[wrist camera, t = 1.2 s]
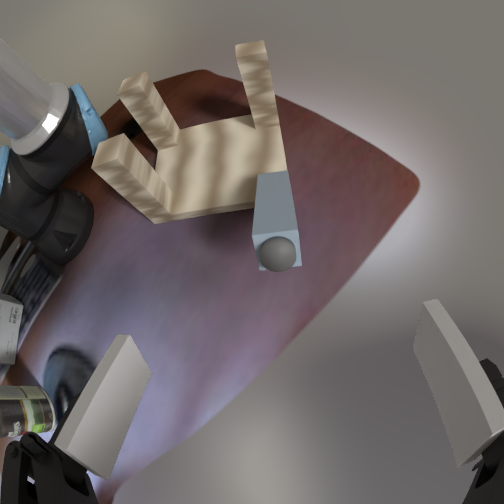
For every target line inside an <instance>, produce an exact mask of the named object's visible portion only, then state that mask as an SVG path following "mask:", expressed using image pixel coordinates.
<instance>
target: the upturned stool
mask: <svg viewBox="0 0 504 504" xmlns="http://www.w3.org/2000/svg"><path fill="white" fill-rule="evenodd" d="M236 59H237V62H238V66H239V70H240V73H241V76H242V80H243V84H244V87H245V91H246V94H247V98H248V102H249V105H250V109H251V113H252V114H251V115H245V116H240V117H234V118H229V119H224V120H219V121H215V122H210V123H206V124H201V125H197V126H193V127H189V128H185V129H181V130H180V129H179V127H178V126H177V124H176V122H175V121H174V119H173V117H172V115H171V114H170V112H169V110H168V109H167V107H166V105H165V104H164V102H163V100H162V98H161V97H160V95H159V93H158V92H157V90H156V88H155V86H154V85H153V83H152V81H151V80H150V78H149V76H148V75H147V73H146V71H144V72H141V73H139V74H136V75H134V76H131V77H129V78H127V79H124V80H123V82H122V84H121V87H120V89H119V91H118V94H117V95H118V96H119V98H120V99H121V101H122V102H123V103H124V105H125V106H126V108H127V109H128V110H129V112H130V113H131V114H132V116H133V117H134V119H135V120H136V121H137V123H138V124H139V125H140V127H141V128H142V129H143V131H144V132H145V134H146V135H147V136H148V138H149V139H150V140H151V142H152V143H153V144H154V146H155V147H156V148H157V150H158V155H157V161H156V167H155V170H154V169H153V168H152V167H151V166H150V164H149V163H148V162H147V161H146V159H145V158H144V157H143V156H142V155H141V153H140V152H139V151H138V150H137V149H136V147H135V146H134V145H133V144H132V143H131V141H130V140H129V139H128V138H127V136H126V135H125V134H124V133H123V134H120V135H118V136H115V137H113V138H110V139H107V140H105V141H102V142H100V143H99V144H98V147H97V150H96V154H95V157H94V160H93V164H92V167H91V168H92V169H93V170H94V171H95V172H96V173H97V174H98V175H99V176H100V177H102V178H103V179H104V180H105V181H106V182H107V183H108V184H109V185H110V186H112V187H113V188H114V189H115V190H116V191H117V192H118V193H120V194H121V195H122V196H123V197H124V198H125V199H126V200H128V201H129V202H130V203H131V204H132V205H133V206H134V207H136V208H137V209H138V210H139V211H140V212H141V213H143V214H144V215H145V216H146V217H147V218H148V219H150V220H151V221H152V222H153V223H154V224H158V223H164V222H170V221H175V220H181V219H187V218H193V217H199V216H205V215H211V214H218V213H224V212H231V211H237V210H244V209H251V208H255V199H256V189H257V178H258V174H264V173H271V172H278V171H286V170H287V166H286V160H285V154H284V148H283V142H282V136H281V131H280V125H279V119H278V113H277V107H276V101H275V95H274V90H273V84H272V79H271V73H270V68H269V63H268V58H267V53H266V48H265V44H264V41H256V42H250V43H244V44H240V45H236Z"/></svg>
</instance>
